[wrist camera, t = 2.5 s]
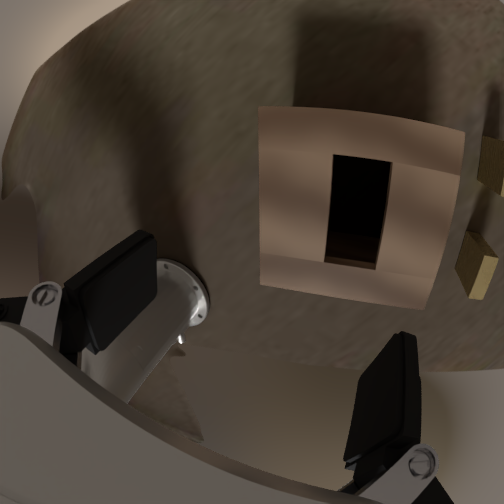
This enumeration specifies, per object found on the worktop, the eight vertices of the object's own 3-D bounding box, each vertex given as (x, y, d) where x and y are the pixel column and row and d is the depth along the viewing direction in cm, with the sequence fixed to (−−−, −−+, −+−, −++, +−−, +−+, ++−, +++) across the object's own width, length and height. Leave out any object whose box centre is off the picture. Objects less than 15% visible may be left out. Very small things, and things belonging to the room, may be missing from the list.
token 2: (490, 183, 21) (515, 200, 16) (477, 179, 22) (500, 195, 17) (496, 140, 19) (523, 148, 14) (482, 135, 19) (508, 142, 15)
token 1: (467, 270, 26) (482, 299, 22) (454, 268, 27) (468, 298, 22) (479, 233, 24) (498, 258, 19) (466, 230, 25) (484, 255, 20)
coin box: (407, 249, 28) (423, 310, 19) (289, 232, 33) (260, 284, 24) (426, 124, 22) (465, 132, 13) (292, 108, 26) (258, 106, 17)
